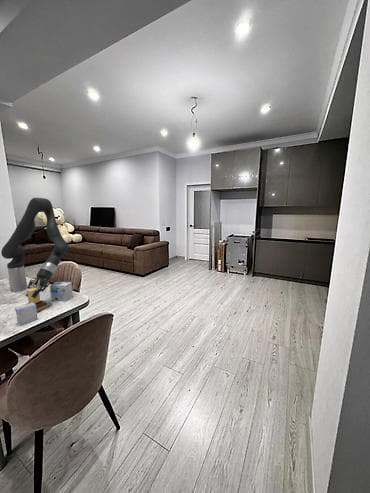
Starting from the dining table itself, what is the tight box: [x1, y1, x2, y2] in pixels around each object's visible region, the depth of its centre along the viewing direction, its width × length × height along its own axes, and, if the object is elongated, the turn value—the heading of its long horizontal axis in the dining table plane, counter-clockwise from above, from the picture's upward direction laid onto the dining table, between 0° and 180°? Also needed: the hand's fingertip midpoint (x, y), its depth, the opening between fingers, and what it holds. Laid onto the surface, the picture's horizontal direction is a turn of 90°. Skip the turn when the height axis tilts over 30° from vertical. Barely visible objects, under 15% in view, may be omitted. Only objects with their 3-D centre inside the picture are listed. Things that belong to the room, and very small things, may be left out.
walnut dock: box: [24, 299, 53, 314], centre depth 118 cm, size 12×12×3 cm
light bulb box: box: [49, 281, 74, 302], centre depth 131 cm, size 11×7×11 cm, turn 88°
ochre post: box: [26, 287, 41, 304], centre depth 117 cm, size 4×4×8 cm
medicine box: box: [14, 303, 38, 326], centre depth 105 cm, size 8×4×9 cm, turn 141°
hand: (30, 296), depth 115 cm, fingers closed on ochre post, 4 cm apart
